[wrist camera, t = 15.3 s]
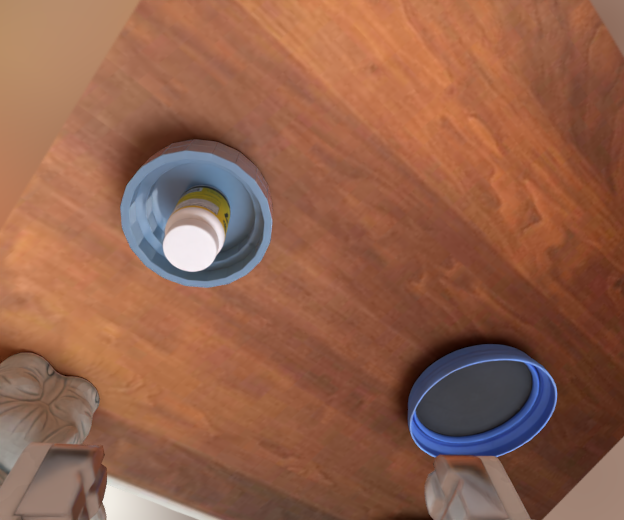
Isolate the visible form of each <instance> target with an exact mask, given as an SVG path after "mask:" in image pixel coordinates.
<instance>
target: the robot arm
mask: <svg viewBox="0 0 624 520" xmlns="http://www.w3.org/2000/svg"><path fill="white" fill-rule="evenodd" d="M104 455H105V454H104V449H103V446H100V445H80V444H60V443H36V442H31V443H30V444H29V445H28V446H27V447H26V448H25V449H24V450H23V451H22V453H21V455H20V456H19V458H18V460H17V461H16V463H15V465H14V466H13V468H12V470H11V471H10V473H9V474H8V476H7V478H6V479H5V481H4V483H3V484H2V486H1V488H0V520H90V519H91V518H92V517H93V516H94V515H96V514H97V513H98V512H99V509H100V507H101V504H102V501H103V498H104V493H105V489H106V484H107V469H106V467H105V466H104V465H102V464H101V463H102V461H103V458H104ZM433 465H434V468H435V471H433V472H432V473H430V474H429V475H428V477H427V479H426V482H425V500H426V505H427V509H428V512H429V515H430V516H431V517H432V518H433V519H434V520H532V519H530V517H529V515H528V513H527V511H526V509H525V507H524V506H523V504H522V502H521V500H520V498H519V496H518V494H517V492H516V490H515V488H514V487H513V485H512V483H511V481H510V479H509V477H508V475H507V473H506V471H505V470H504V468H503V466H502V464H501V462H500V460H499V459H498V458H497V457H496V456H475V455H438V456H437V457H436V458H435V460H434V462H433Z"/></svg>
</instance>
